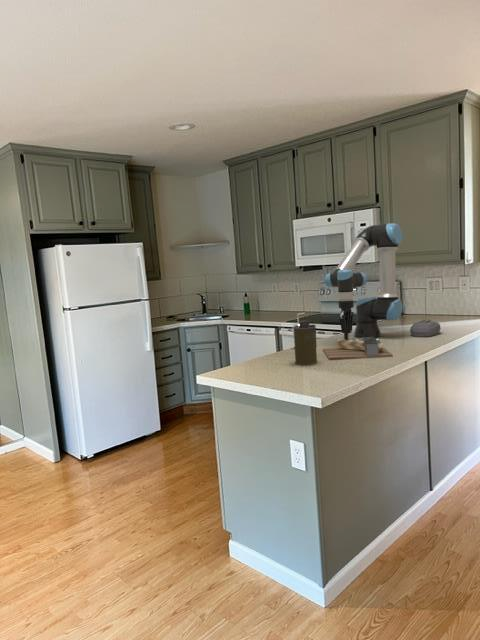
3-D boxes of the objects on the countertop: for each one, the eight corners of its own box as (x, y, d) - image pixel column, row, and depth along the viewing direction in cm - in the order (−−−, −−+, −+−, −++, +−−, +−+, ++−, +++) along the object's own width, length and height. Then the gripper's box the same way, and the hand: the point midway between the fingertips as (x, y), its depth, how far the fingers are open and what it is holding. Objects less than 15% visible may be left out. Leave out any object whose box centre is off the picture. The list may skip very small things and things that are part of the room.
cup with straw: (303, 345, 270) (301, 310, 268) (310, 348, 262) (308, 311, 259) (289, 347, 268) (287, 312, 265) (296, 350, 259) (294, 313, 257)
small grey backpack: (419, 331, 292) (405, 336, 278) (418, 318, 291) (404, 322, 277) (444, 333, 282) (431, 338, 267) (444, 318, 281) (431, 323, 266)
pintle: (374, 341, 237) (374, 338, 237) (379, 341, 237) (379, 338, 236) (375, 342, 234) (375, 339, 234) (381, 342, 234) (381, 339, 234)
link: (385, 350, 236) (384, 342, 236) (380, 352, 232) (380, 344, 232) (341, 346, 253) (340, 339, 252) (336, 348, 249) (335, 340, 248)
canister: (303, 366, 220) (301, 323, 217) (290, 362, 229) (288, 321, 227) (322, 362, 225) (320, 320, 222) (309, 359, 234) (307, 318, 232)
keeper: (361, 351, 240) (361, 337, 239) (372, 350, 240) (372, 336, 239) (366, 355, 229) (366, 341, 228) (378, 355, 229) (378, 340, 228)
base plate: (322, 350, 253) (322, 348, 253) (380, 347, 252) (380, 345, 252) (329, 360, 229) (329, 358, 229) (392, 356, 228) (392, 354, 228)
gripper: (344, 298, 254) (346, 342, 257) (333, 301, 244) (335, 347, 247) (358, 298, 249) (359, 343, 252) (347, 301, 239) (348, 348, 242)
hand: (347, 345), depth 250 cm, fingers closed
